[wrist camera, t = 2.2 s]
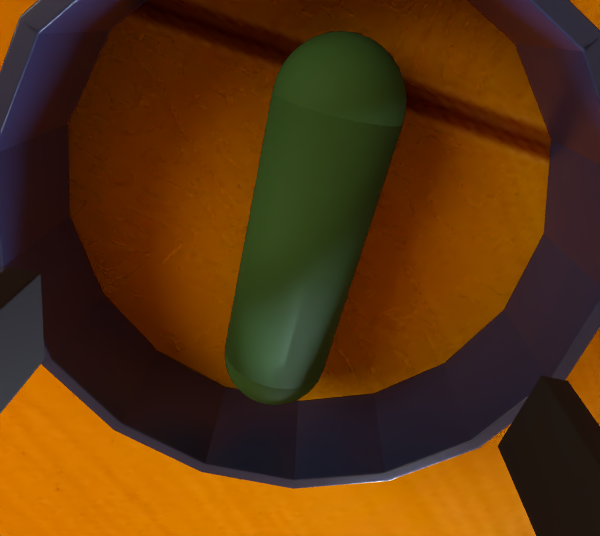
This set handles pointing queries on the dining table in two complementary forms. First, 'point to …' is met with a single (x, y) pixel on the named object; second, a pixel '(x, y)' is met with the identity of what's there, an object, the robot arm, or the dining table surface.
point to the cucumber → (311, 210)
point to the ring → (321, 412)
